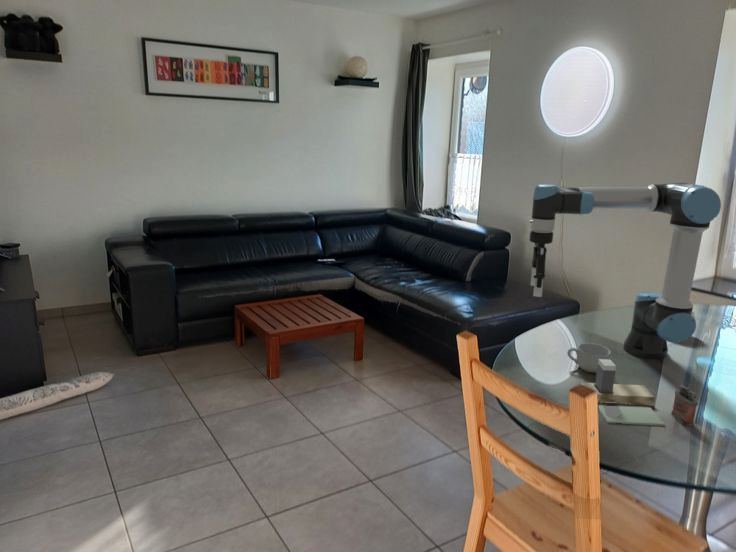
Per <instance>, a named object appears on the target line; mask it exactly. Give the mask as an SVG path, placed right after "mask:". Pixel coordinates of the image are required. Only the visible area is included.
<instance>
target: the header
mask: <svg viewBox="0 0 736 552" xmlns="http://www.w3.org/2000/svg"><path fill="white" fill-rule="evenodd" d="M580 385H585V386H587V387H590V388H592V389H594V390H596V391H597V393H598V399H599V403H598V404H601V405H604V404H603V403H605V402H617V403H621V404H620V405H623V404H625V405H624V406H644V407H654V403H655V399H656V398H655V395H654V394H653V393H652V392H651V391H650V390H649V389H648V388H647V387H646V386H645V385H643V384H621V383H620V384H619V383H614V385H613V392H612V393H599V391H598V390H597V389H596V387H595V382H579V386H580ZM627 404H628V405H627Z"/></svg>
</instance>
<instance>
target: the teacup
mask: <svg viewBox="0 0 736 552" xmlns="http://www.w3.org/2000/svg"><path fill="white" fill-rule="evenodd" d="M572 352H576V353H575V354H576V357H573V355H572V354H571V353H572ZM567 356H568V357H569V359H570V360H571V361H573V362H574V363H575V364H576V365H578V367H580V368H581V370H582V371H584V372H587V373H592V374H597V367H598V360H599V359H608V360H610V356H611V350H610V349H609V348H608V347H607V346H604V345H602V344H598V343H595V342H582V343H579V344H578V345H577V348H576V347H570V348H568V350H567Z"/></svg>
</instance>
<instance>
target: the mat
mask: <svg viewBox="0 0 736 552" xmlns="http://www.w3.org/2000/svg"><path fill="white" fill-rule="evenodd" d="M598 405H599V410H598V412H599V413H600V414H601V416H602V418H603V419H604V418H605V419H604V421H605V422H606V423H607V424H613V423H612V422H617V423H622V425H636V426H638V425H639V426H656V427H657V426H660V427H661V426H662V427H665V425H666V424H665V422H664V421H663V420H662V419H661V417H660V416H658V415H657V413H656V412H655V411H654V410H653V409H652V408H651V406H640V405H619V406H620V407H619V409H620V411H621V413H620V415H619V416H617V418H616V419H612V418H611V417H608V416H607V415H606V413H605V409H606V405H607V404H598Z"/></svg>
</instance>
